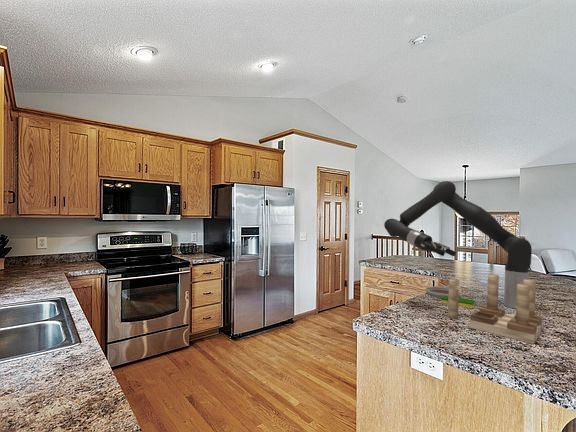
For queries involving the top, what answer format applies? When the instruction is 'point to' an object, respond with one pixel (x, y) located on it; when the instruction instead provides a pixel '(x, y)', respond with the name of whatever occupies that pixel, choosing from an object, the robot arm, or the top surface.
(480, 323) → the stool seat
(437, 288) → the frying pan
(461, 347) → the top surface
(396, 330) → the top surface
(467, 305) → the dish sponge
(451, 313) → the stool leg
